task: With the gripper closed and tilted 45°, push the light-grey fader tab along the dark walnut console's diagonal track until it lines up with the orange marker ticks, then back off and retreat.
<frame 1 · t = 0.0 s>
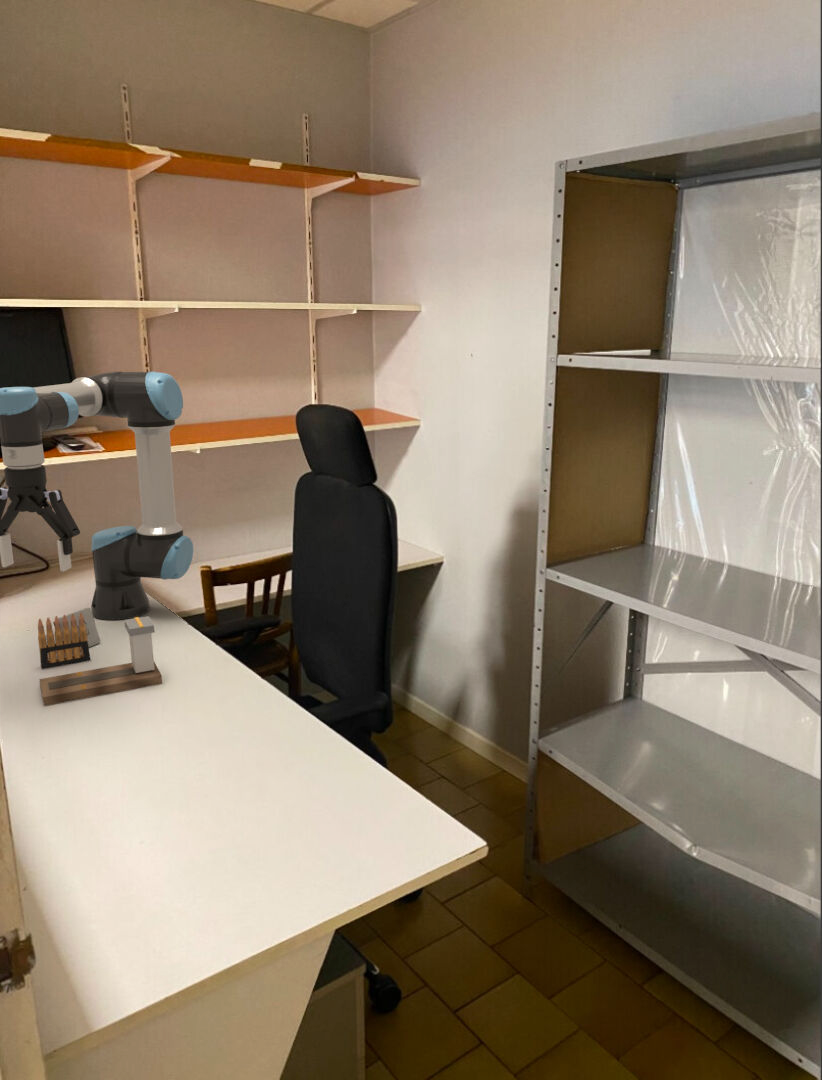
hand: (36, 567, 170), 28 cm above the table, tool pointing down, fingers open, 13 cm apart
electrical switch: (77, 648, 202), on the table
ammunition clip: (66, 664, 192), on the table
fader console: (101, 685, 181), on the table
fader tab: (141, 644, 183), point 8 cm above the table, slide at 0.0 cm
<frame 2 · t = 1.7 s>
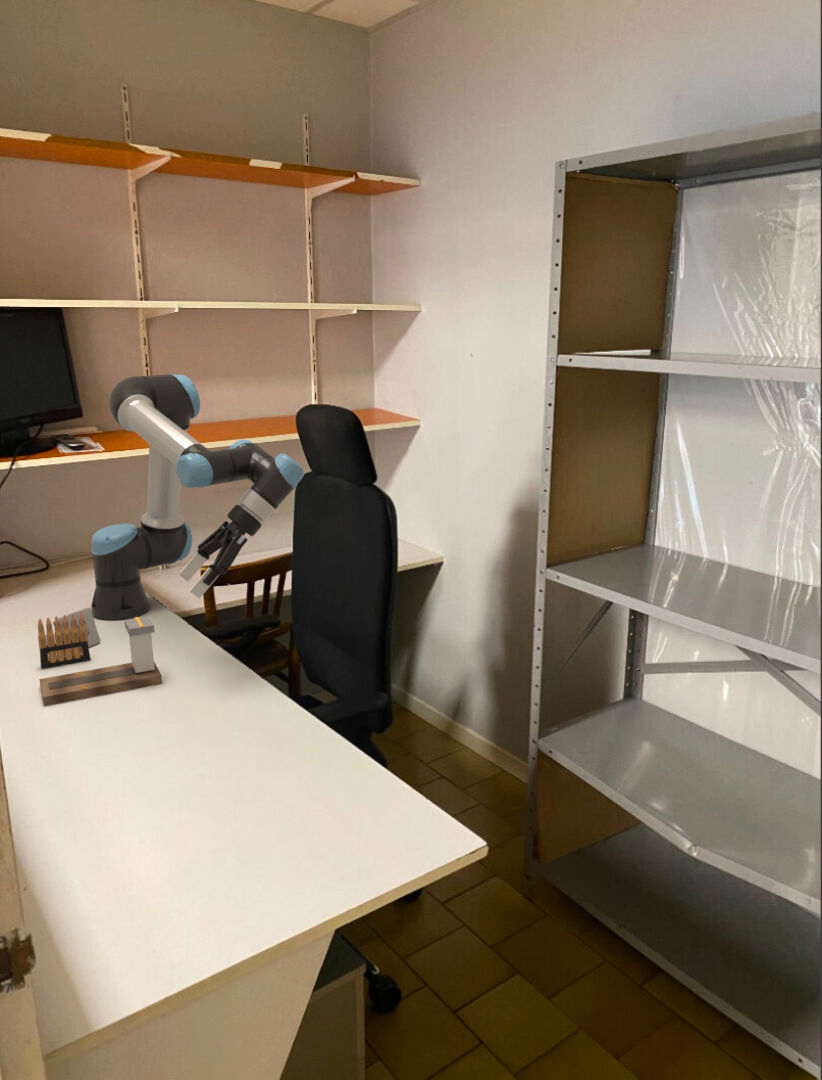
hand: (188, 586, 184), 20 cm above the table, tool tilted 45°, fingers open, 13 cm apart
nothing on the table moved.
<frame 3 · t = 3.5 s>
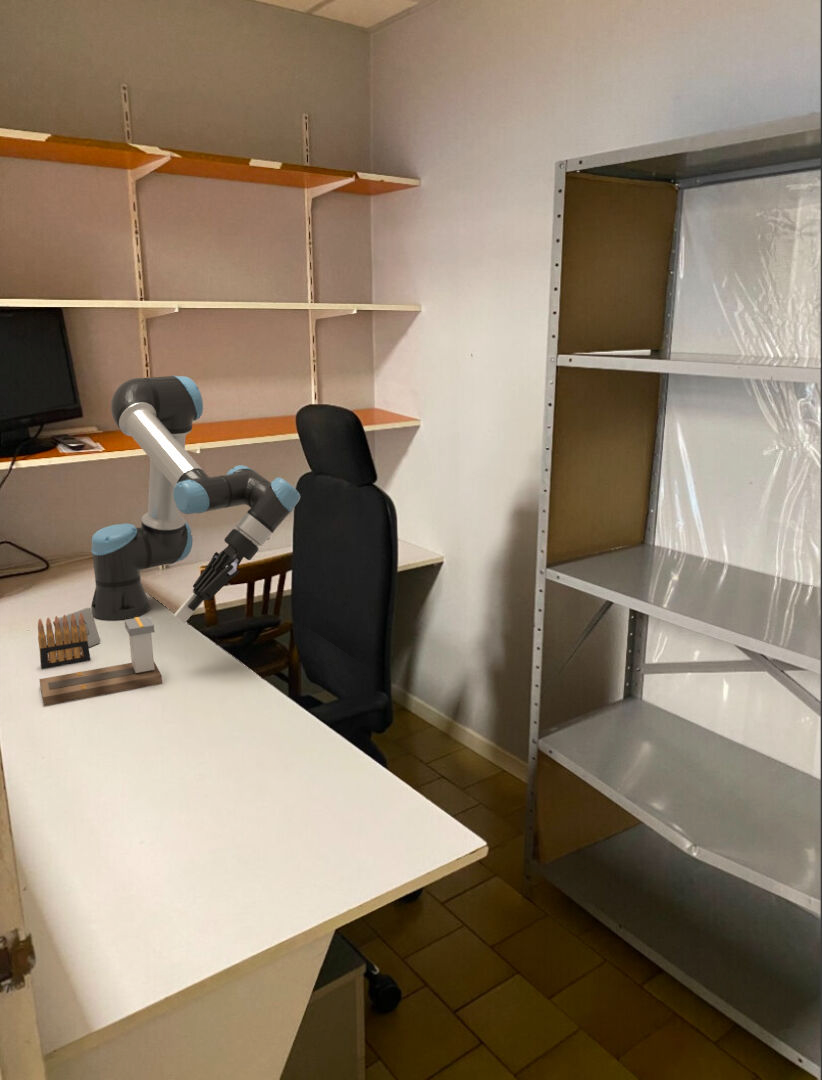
hand: (179, 618, 184), 13 cm above the table, tool tilted 45°, fingers closed
nothing on the table moved.
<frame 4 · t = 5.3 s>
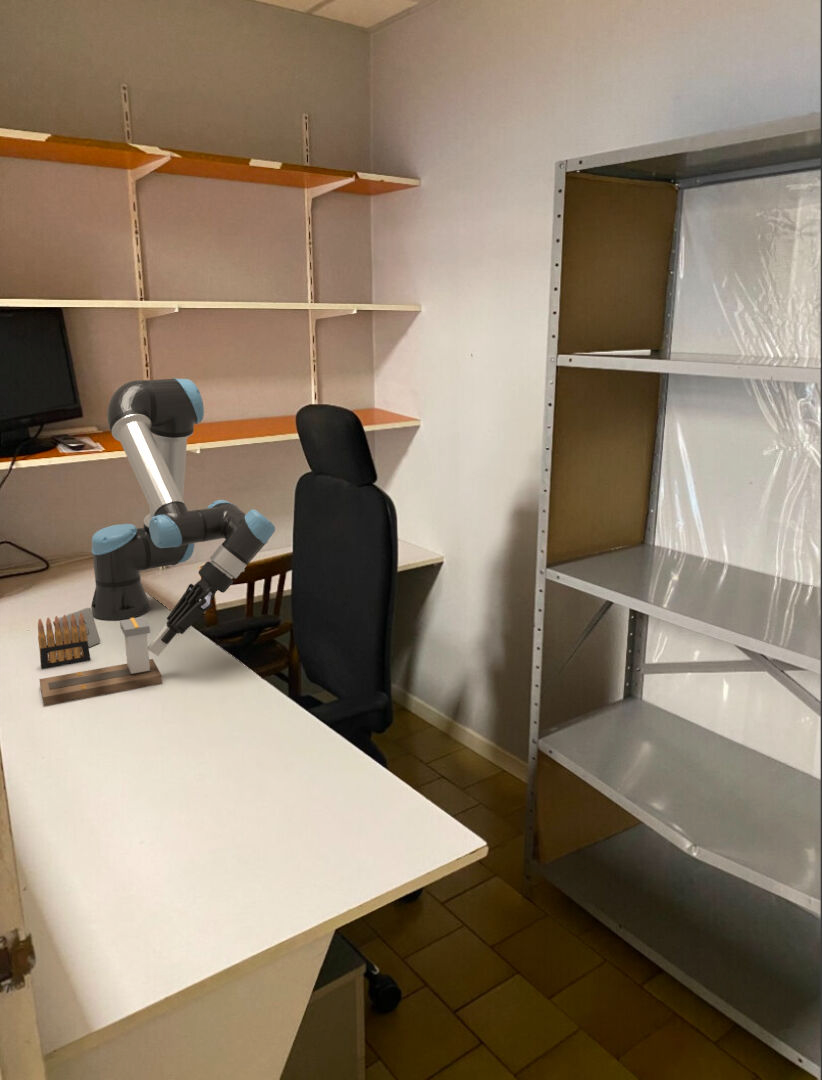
hand: (152, 651, 184), 6 cm above the table, tool tilted 45°, fingers closed
fader tab: (136, 645, 182), point 8 cm above the table, slide at 1.0 cm, touching gripper
everything else where it was.
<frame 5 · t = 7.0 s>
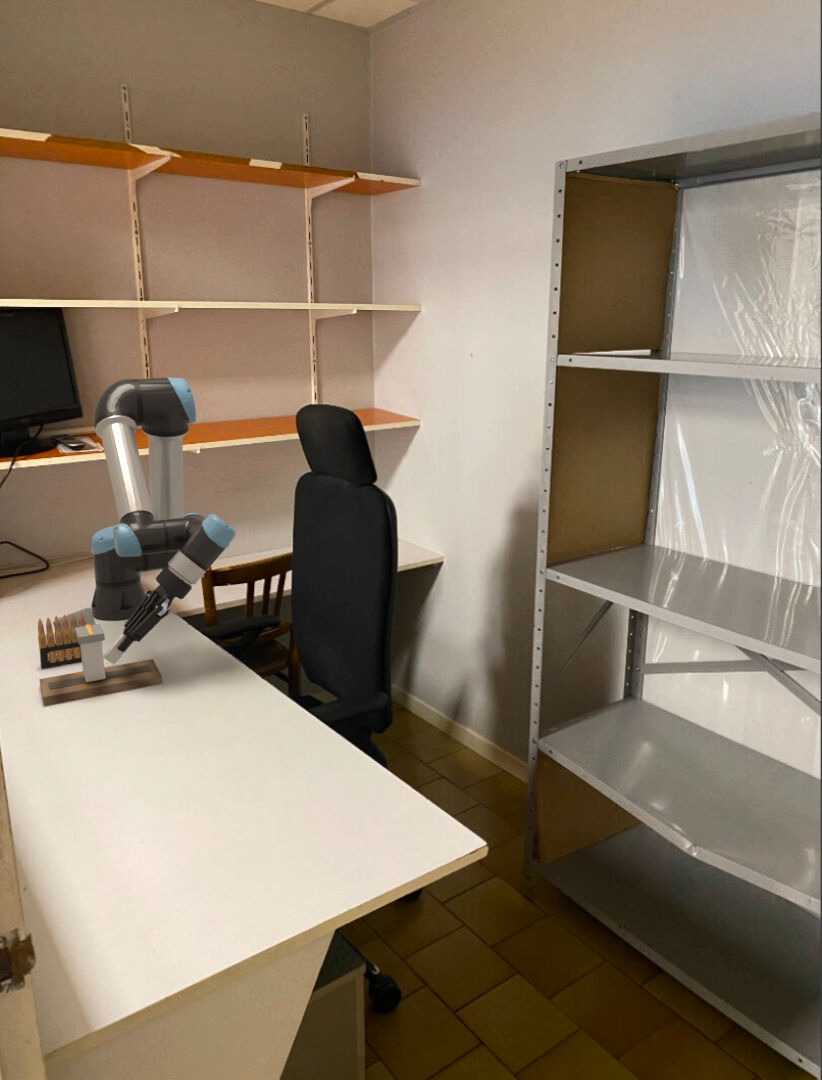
hand: (108, 660, 180), 6 cm above the table, tool tilted 45°, fingers closed
fader tab: (91, 653, 178), point 8 cm above the table, slide at 10.3 cm, touching gripper
everything else where it was.
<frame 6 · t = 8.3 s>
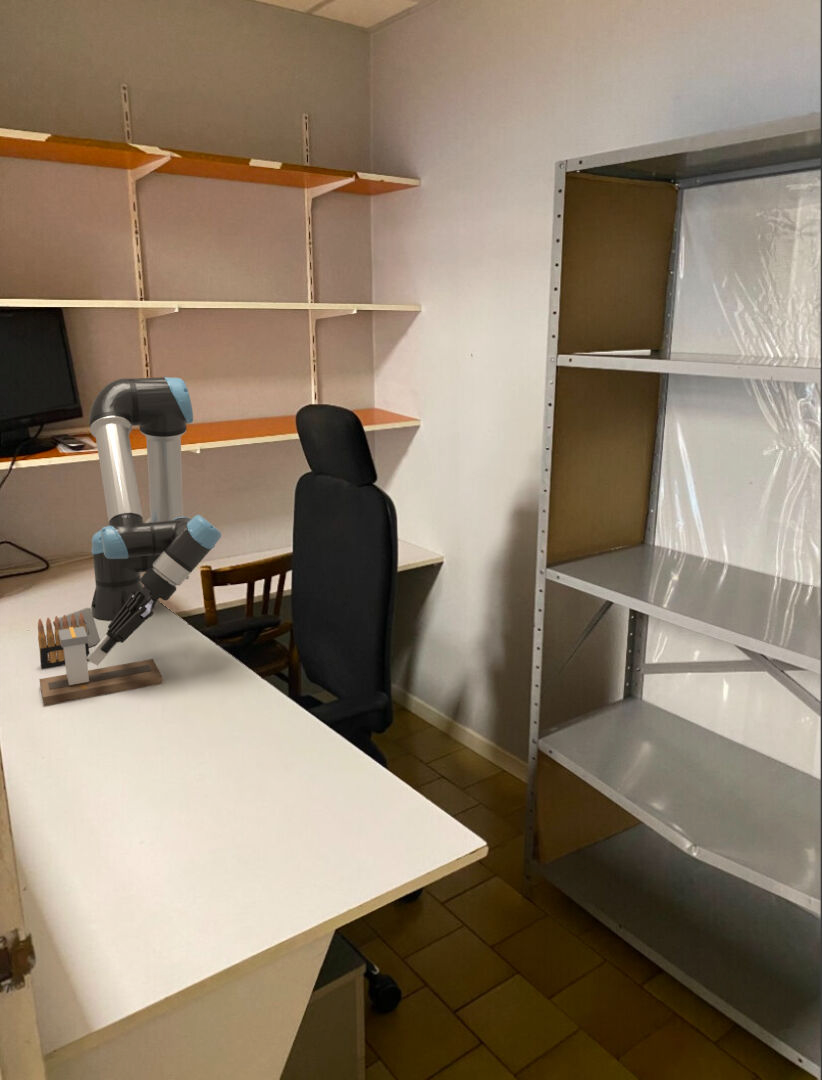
hand: (92, 661, 179), 6 cm above the table, tool tilted 45°, fingers closed
fader tab: (75, 655, 177), point 8 cm above the table, slide at 13.7 cm, touching gripper
everything else where it was.
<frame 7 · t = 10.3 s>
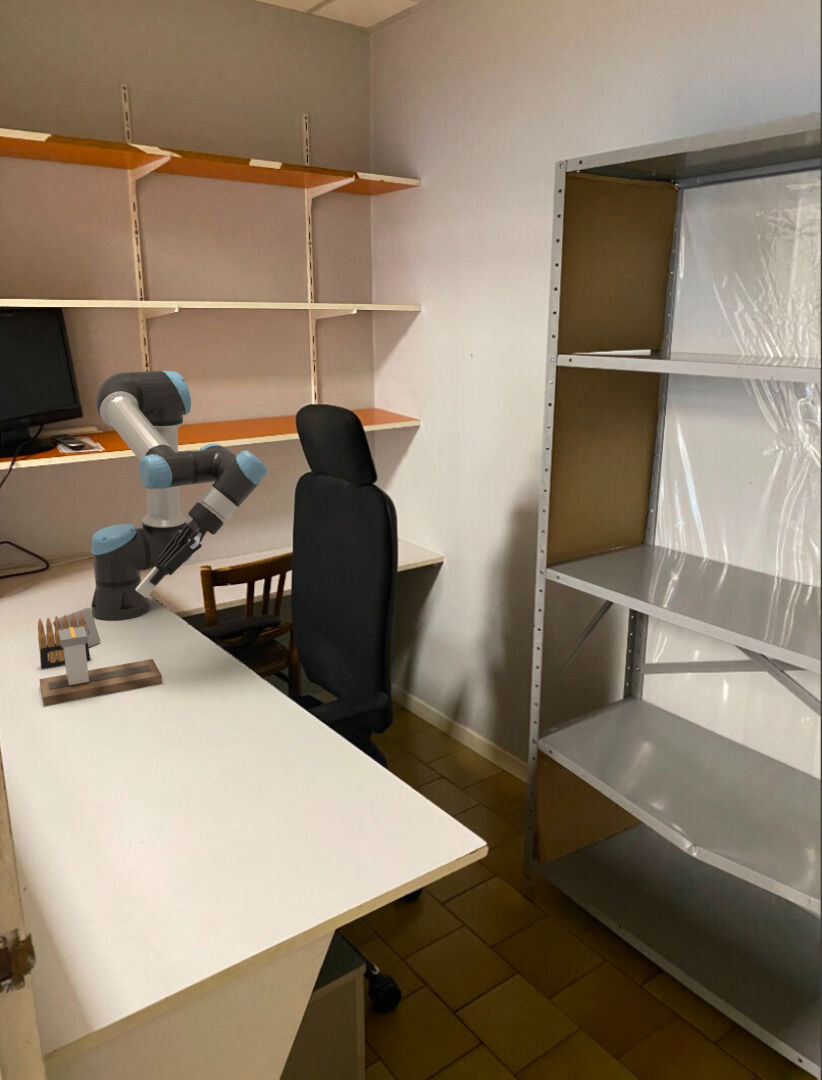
hand: (140, 593, 180), 20 cm above the table, tool tilted 45°, fingers closed
fader tab: (75, 655, 177), point 8 cm above the table, slide at 13.7 cm
everything else where it was.
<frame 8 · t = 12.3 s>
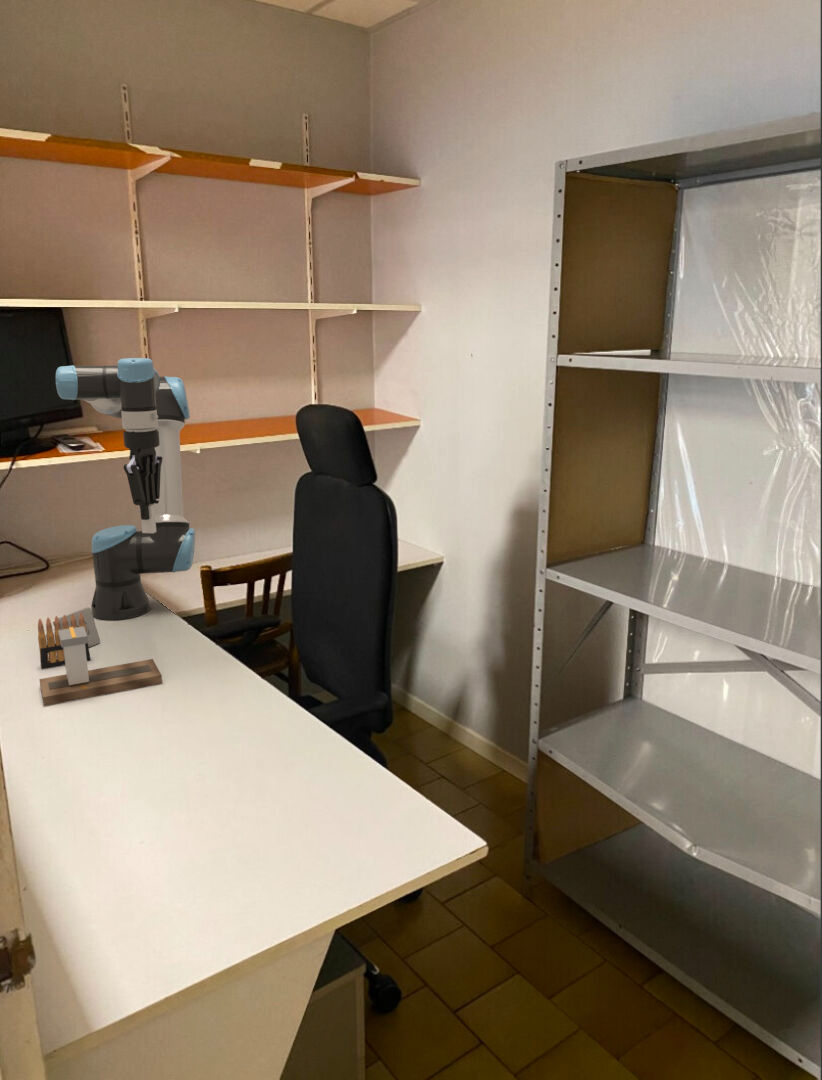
hand: (149, 532, 189), 30 cm above the table, tool pointing down, fingers closed
nothing on the table moved.
at the end: fader tab slide at 13.7 cm; the gripper is holding nothing; ammunition clip moved 0.4 cm from its start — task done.
